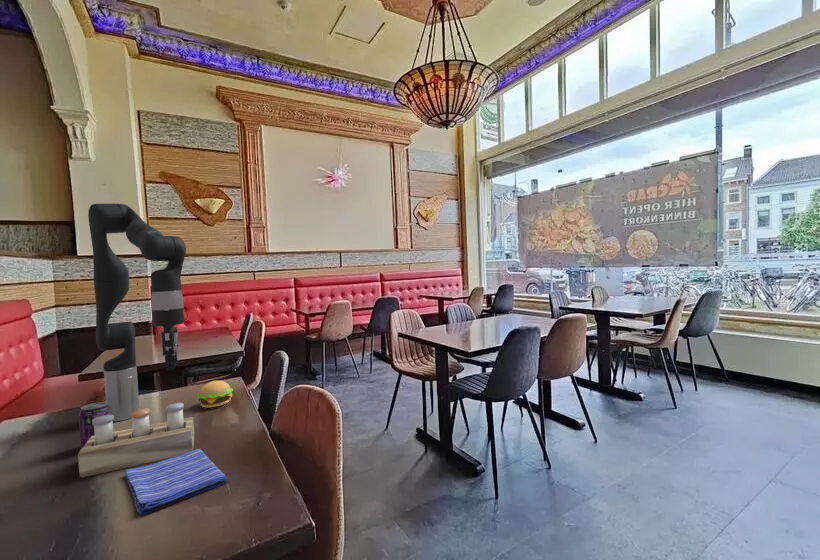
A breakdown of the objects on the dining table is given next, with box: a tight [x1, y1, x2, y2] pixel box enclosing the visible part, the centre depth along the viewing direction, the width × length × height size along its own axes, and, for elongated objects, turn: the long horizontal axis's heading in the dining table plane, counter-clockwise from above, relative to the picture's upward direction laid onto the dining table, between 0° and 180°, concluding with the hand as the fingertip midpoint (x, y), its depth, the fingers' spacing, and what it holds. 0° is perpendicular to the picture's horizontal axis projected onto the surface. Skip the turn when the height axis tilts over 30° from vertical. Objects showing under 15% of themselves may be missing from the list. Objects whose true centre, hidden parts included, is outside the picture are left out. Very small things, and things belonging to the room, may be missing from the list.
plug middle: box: [130, 408, 151, 438], centre depth 105 cm, size 4×4×8 cm
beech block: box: [77, 416, 195, 478], centre depth 105 cm, size 12×24×6 cm, turn 117°
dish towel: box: [125, 448, 228, 516], centre depth 92 cm, size 17×24×3 cm
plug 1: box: [92, 415, 114, 446], centre depth 101 cm, size 4×4×8 cm
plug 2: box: [164, 402, 185, 431], centre depth 109 cm, size 4×4×8 cm
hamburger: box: [196, 380, 234, 408], centre depth 145 cm, size 12×12×9 cm
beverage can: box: [78, 401, 111, 450], centre depth 113 cm, size 7×7×12 cm
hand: (171, 367), depth 108 cm, fingers open, 6 cm apart
